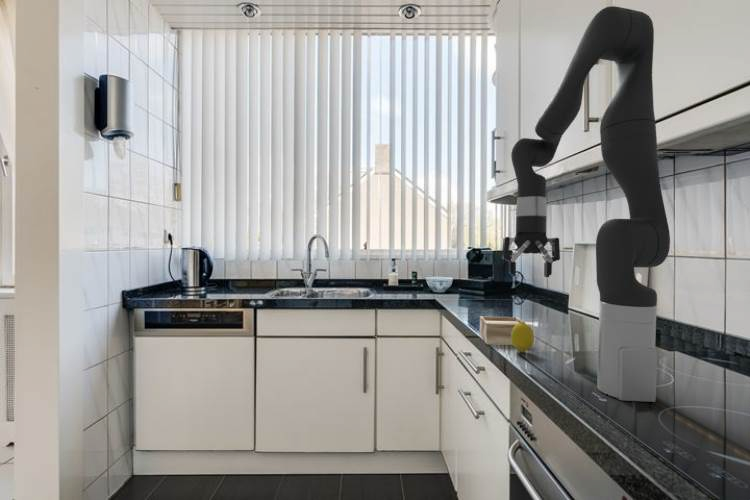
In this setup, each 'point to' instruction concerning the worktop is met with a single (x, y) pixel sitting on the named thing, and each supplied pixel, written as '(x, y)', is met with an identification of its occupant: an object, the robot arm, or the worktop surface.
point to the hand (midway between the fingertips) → (530, 276)
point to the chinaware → (439, 283)
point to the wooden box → (497, 329)
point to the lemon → (522, 336)
